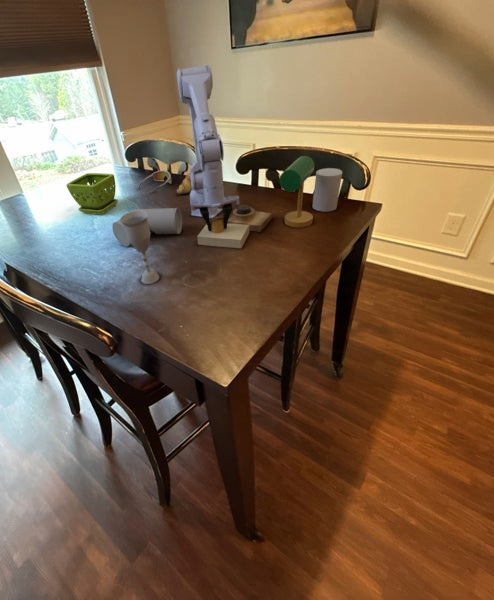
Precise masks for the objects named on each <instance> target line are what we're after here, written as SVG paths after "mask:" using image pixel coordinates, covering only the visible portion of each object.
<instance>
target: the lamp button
mask: <svg viewBox="0 0 494 600" xmlns="http://www.w3.org/2000/svg"><path fill="white" fill-rule="evenodd" d="M250 208H251V206H250V205H249V204H239V205H238V206H237V207H236V209H237V213H238V214H242V215H243V214H249V213H250Z"/></svg>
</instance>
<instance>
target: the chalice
mask: <svg viewBox="0 0 494 600" xmlns="http://www.w3.org/2000/svg"><path fill="white" fill-rule="evenodd" d="M147 218H148V213H146V212H144V211H129V212H127V213H124V214H123V215H122V216H120V218H119V220H120V221H121V222H122V224H123V225H124V228H125V232H126V235H127V239H128V240H129V241H130V243H131V246H132V247H133V248H134V249H135V250H136V251H137V252H138V253H141V259H142V260H143V263H142V265H143V266H144V267H145V269H144V270H143V272H142V275H141V279H140V281H141V283H142V284H145V285H146V284H147V285H149V284H154V283H156V282H157V281H158V280H159V279H160V275H159V274H158V273H157V271H156V270H155V269H154V268H151V267H150V261H148V255H147V254H146V252H147V251H148V250H149V246H150V241H151V234H150V230H149V226H148V221H147Z"/></svg>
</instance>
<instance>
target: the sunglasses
mask: <svg viewBox="0 0 494 600" xmlns="http://www.w3.org/2000/svg"><path fill="white" fill-rule="evenodd" d="M152 177H153V180H154V182H163V183H162V184H160V185H158V186H157V187H156V188H154V189H153V190H152V191H150V193H154V192H156V191H157V190H158V189H160V188H161V187H163V186H165V185H166V184H167V183H169V184H170V185H172V183H173V182H172V177H171V173H170V172H169V171H168V170H157V171H154V172H153V173H152V174H150V175H148V176H147V177H145V178H144V179H143V180H141V181H140V182H139V184H138V185H137V186H138V187H137V190H139V189H140V187H141V185H142V184H143V183H144V182H145V181H146V180H148V179H151V178H152Z"/></svg>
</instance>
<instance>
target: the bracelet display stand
mask: <svg viewBox="0 0 494 600" xmlns="http://www.w3.org/2000/svg"><path fill="white" fill-rule="evenodd" d="M314 170H315V162H314V159H312V158H311V157H310V156H308V155H302V156H300V157H298V158H297V159H296V160H295V161H293V162H292V163H291V165H290V166H288V167H287V168H286V169H285V170H284V171H283V172H282V173H281V174H280V177H279V180H278V181H279V186H280V188H281V189H282V190H283V191H285V192H287V193H294V192H296V191H297V190H298V193H297V207H296V208H297V209H296V210H294V211H289V212H287V213H286V214H285V215H284V224H285V225H286V226H289V227H291V228H306V227H309V226H311V225H312V224H313V220H314V215H313V214H312V213H310V212H308V211H304V210H302V209H303V200H304V199H303V198H304V187H305V182H306V181H307V179H308V178H309V177H310V176H311V175H312V174H313V172H314Z"/></svg>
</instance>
